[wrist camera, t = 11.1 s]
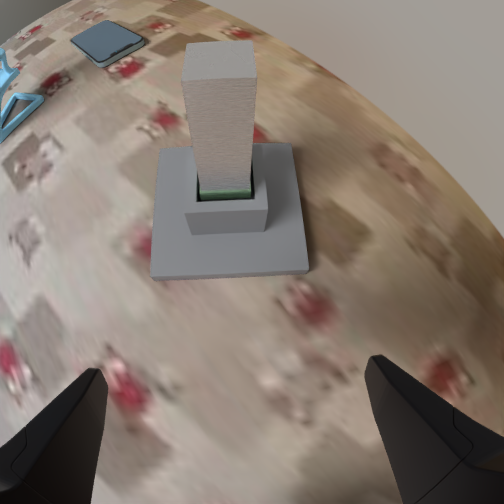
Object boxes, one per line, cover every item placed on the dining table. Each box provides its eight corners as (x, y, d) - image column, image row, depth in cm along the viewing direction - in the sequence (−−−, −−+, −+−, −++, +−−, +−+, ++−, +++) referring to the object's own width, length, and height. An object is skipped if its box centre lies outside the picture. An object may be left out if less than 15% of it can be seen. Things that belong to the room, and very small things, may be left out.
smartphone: (106, 18, 38) (146, 37, 34) (109, 25, 39) (148, 46, 35) (68, 39, 36) (98, 63, 32) (71, 46, 37) (101, 72, 34)
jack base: (306, 273, 25) (324, 248, 19) (154, 280, 24) (131, 256, 19) (289, 150, 29) (298, 108, 23) (162, 156, 28) (149, 115, 23)
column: (250, 198, 22) (259, 78, 12) (201, 200, 21) (178, 82, 12) (247, 154, 23) (253, 35, 13) (201, 156, 23) (185, 39, 13)
